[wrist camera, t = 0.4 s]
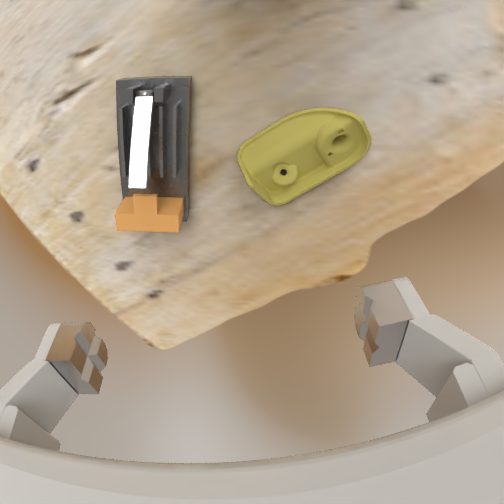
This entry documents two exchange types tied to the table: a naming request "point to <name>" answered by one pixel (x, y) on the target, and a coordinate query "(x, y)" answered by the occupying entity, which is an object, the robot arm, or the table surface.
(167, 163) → the heatsink
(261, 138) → the plastic component
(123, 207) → the clip
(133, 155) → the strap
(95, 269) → the table surface
